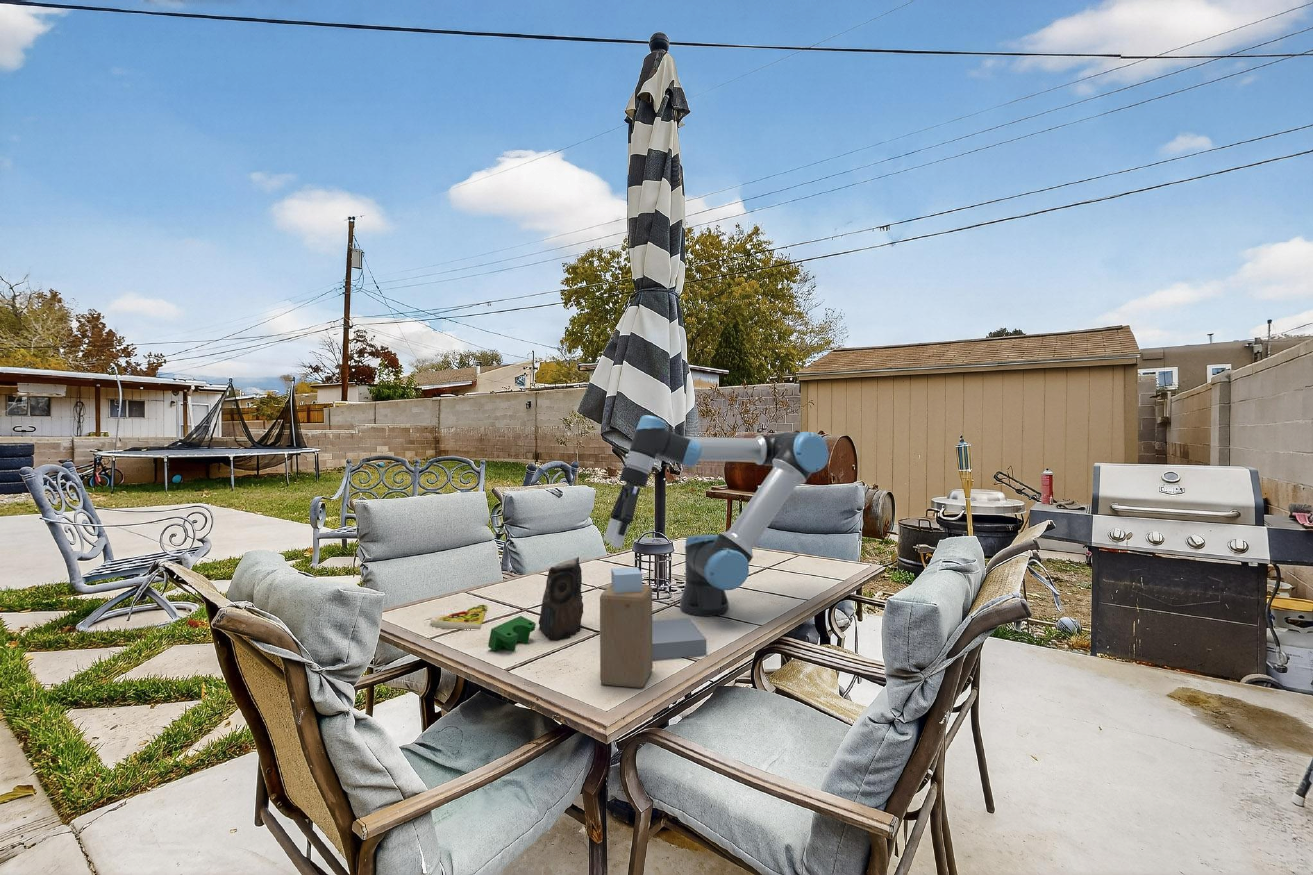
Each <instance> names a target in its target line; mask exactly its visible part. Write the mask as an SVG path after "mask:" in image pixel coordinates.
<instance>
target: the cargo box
mask: <svg viewBox="0 0 1313 875" xmlns="http://www.w3.org/2000/svg"><path fill="white" fill-rule="evenodd" d="M610 574H611V576H610V578H611V579H610V580H611V581H610V582H611V584H610V585H611V586H612V588H613V590H614V592H615V593H630V592H642V585H643V573H642V571H641V570H640V568H638V567H637V566H636V567H634V566H632V567H618V568H611V573H610Z"/></svg>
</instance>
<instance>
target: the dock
mask: <svg viewBox="0 0 1313 875" xmlns="http://www.w3.org/2000/svg"><path fill="white" fill-rule="evenodd" d="M652 655H653V661H659V660H660V661H662V660H672V659H683V658H682V657H684V658H688V657H687V656H695V657H701V656H700V655H706V656H707V638H706V637H705V636H704V634H703V633H702V632H701V631H700V630H699V628H698V627H697V626H696V625H695V623H694V622H693V621H692V619H691V618H690V617H687V618H686V617H685V618H684V617H683V618H673V619H658V620H652Z"/></svg>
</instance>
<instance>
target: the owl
mask: <svg viewBox="0 0 1313 875" xmlns="http://www.w3.org/2000/svg"><path fill="white" fill-rule="evenodd" d="M546 577H547V578H546V582H545V589H544V592H543V596H542V602H541V606H540V615H539V619H538V625H539V626H538V630H540V631H541V633H542V634H544V636H545V637H547V638H548V640H550V641H553V642H559V641H563V640H568V639H570V638H571V637H572V636H575V635H576V634H577V633H579V632H580V633H581V624H582V618H583V614H584V602H583V595H582V583H583V580H582V579H583V578H582V577H583V576H582V568H581V564H580V557H579V556H577V557H574V558H572V559H568V560H565V561H562V562H559V563H558V564H557V563H556V564H555V565H554V566H551V567H550V568H549V569H548V573H547V576H546Z"/></svg>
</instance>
